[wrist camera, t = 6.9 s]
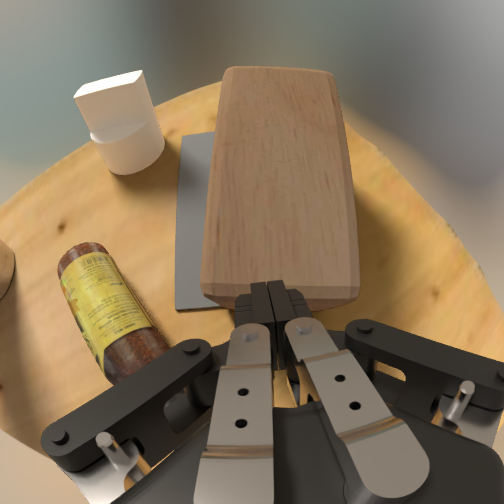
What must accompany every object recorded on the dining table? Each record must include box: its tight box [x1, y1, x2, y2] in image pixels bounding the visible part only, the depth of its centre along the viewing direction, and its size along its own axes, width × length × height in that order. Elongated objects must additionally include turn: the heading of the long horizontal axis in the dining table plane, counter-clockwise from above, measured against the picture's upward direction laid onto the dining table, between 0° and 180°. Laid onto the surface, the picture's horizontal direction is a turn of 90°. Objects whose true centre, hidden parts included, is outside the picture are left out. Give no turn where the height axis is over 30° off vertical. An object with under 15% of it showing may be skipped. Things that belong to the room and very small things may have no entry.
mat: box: [175, 131, 222, 310], centre depth 32 cm, size 16×24×1 cm, turn 6°
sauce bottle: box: [58, 242, 211, 451], centre depth 22 cm, size 7×6×20 cm
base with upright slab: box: [74, 70, 165, 175], centre depth 31 cm, size 9×9×12 cm
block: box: [200, 66, 360, 311], centre depth 23 cm, size 10×10×20 cm
